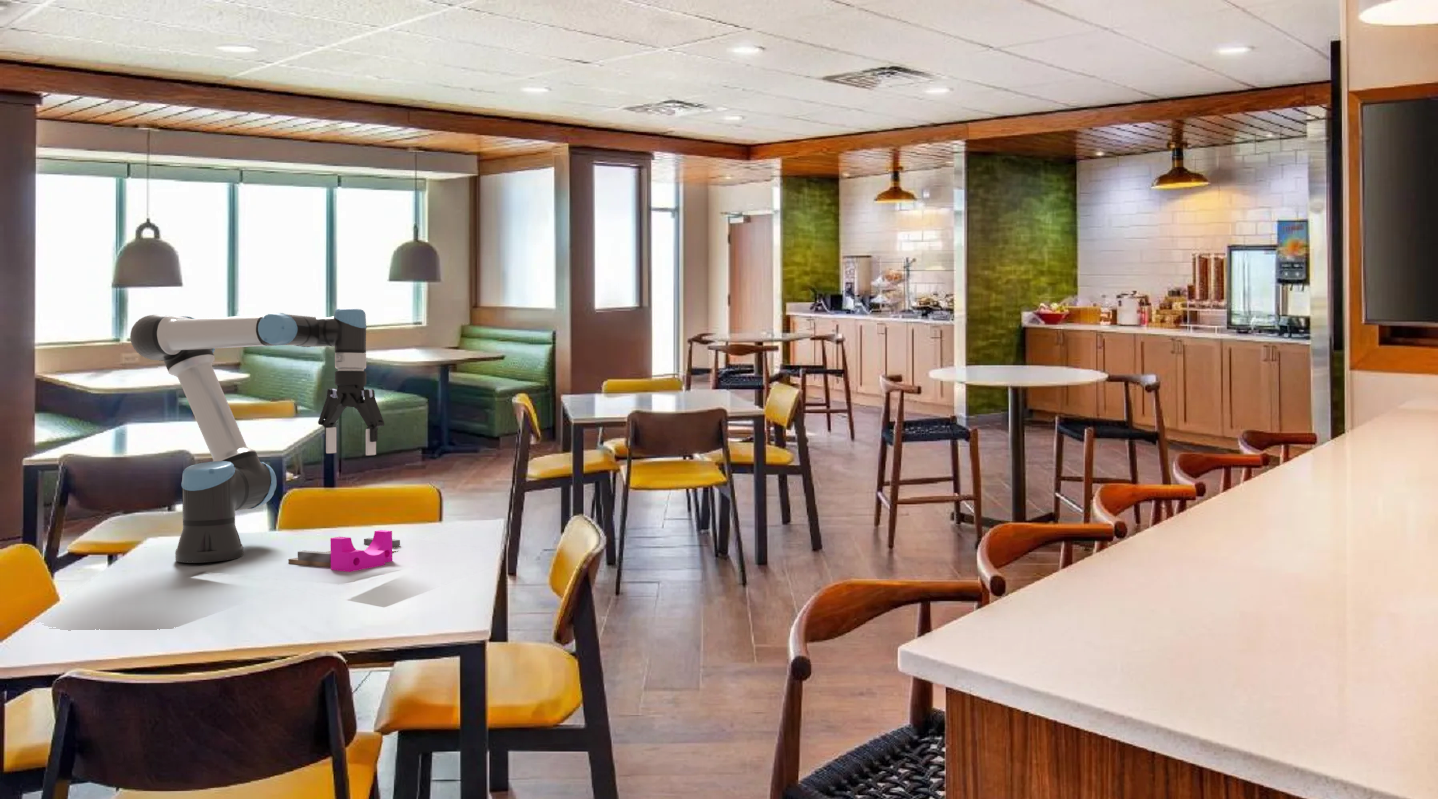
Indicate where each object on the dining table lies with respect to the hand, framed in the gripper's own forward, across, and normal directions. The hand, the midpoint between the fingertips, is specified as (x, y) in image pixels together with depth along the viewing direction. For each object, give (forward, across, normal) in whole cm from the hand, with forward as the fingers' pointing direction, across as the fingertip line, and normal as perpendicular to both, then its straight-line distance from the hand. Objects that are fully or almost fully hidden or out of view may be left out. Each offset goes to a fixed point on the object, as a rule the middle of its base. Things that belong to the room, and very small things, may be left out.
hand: (350, 454), depth 269 cm
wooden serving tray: (+25, +6, -6) cm, 26 cm away
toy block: (+25, +18, -12) cm, 33 cm away
